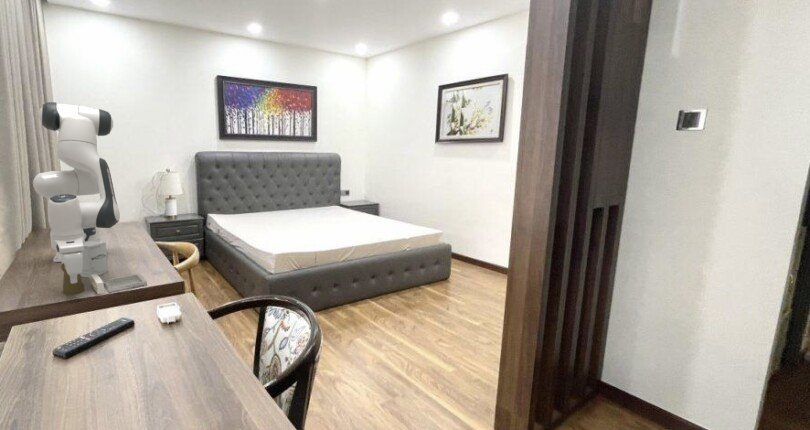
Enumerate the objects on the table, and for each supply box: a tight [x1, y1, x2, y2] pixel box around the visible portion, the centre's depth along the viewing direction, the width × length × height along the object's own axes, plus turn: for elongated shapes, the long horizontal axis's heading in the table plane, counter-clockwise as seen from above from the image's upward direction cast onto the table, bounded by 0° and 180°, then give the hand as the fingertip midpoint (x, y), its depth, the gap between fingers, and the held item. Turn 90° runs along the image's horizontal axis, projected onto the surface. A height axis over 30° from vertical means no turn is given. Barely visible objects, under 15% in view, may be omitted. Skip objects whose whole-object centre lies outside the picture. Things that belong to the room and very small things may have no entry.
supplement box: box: [80, 241, 109, 279], centre depth 156 cm, size 7×7×13 cm
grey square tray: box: [102, 273, 148, 293], centre depth 147 cm, size 12×12×2 cm
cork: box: [60, 263, 85, 296], centre depth 138 cm, size 6×6×11 cm
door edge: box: [89, 274, 105, 295], centre depth 142 cm, size 12×2×4 cm, turn 46°
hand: (72, 280), depth 138 cm, fingers closed on cork, 5 cm apart
